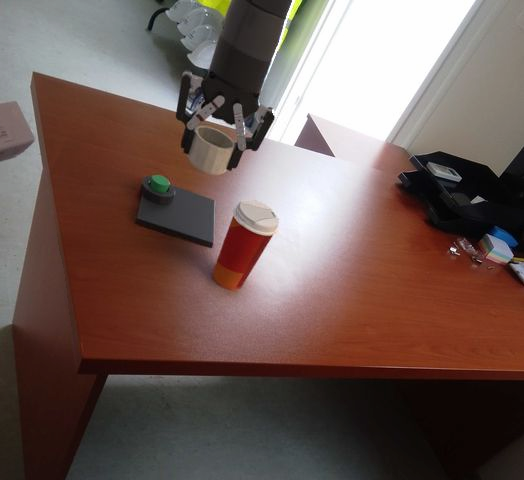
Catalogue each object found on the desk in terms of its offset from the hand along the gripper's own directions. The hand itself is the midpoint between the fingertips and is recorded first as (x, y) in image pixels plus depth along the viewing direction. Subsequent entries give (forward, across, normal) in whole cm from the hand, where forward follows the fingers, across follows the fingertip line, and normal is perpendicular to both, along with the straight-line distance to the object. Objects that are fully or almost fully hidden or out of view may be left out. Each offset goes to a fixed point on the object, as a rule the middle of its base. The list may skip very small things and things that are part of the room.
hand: (207, 159), depth 70 cm
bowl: (+1, 0, 0) cm, 1 cm away
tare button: (+13, -6, +10) cm, 18 cm away
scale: (+16, -1, +8) cm, 18 cm away
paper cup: (+16, +9, -6) cm, 20 cm away
